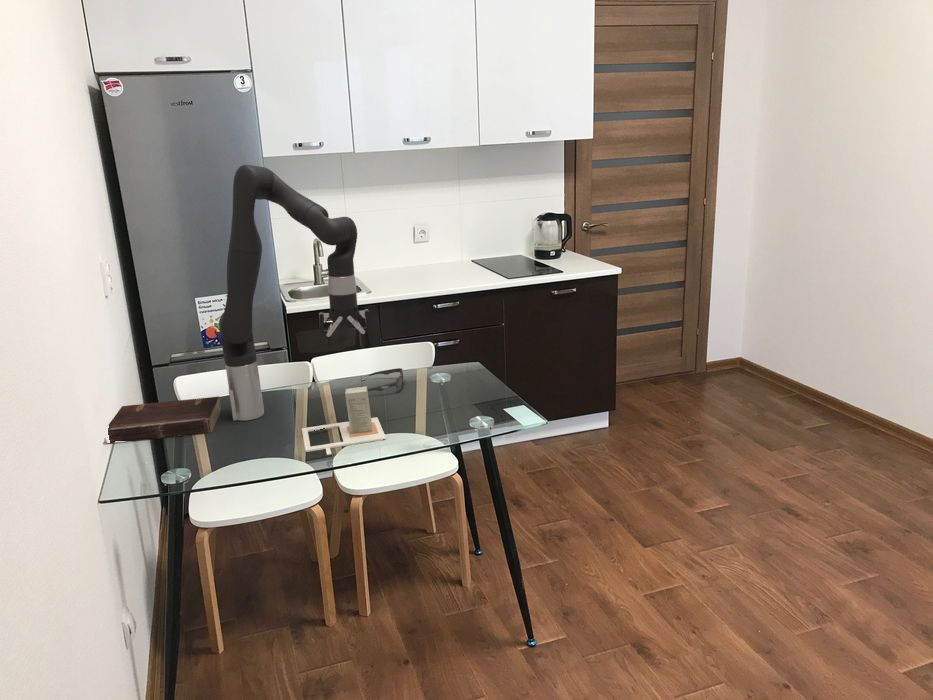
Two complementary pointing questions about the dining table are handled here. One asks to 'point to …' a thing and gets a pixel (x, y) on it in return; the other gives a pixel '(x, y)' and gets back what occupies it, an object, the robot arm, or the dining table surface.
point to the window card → (345, 435)
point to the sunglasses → (397, 383)
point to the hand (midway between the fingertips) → (346, 347)
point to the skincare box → (358, 409)
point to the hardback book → (164, 419)
